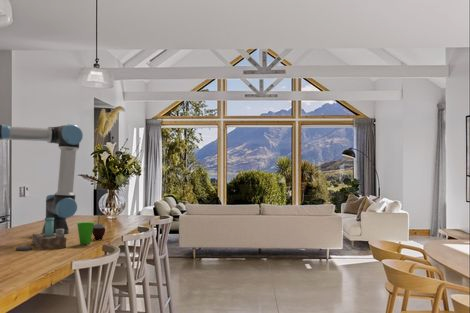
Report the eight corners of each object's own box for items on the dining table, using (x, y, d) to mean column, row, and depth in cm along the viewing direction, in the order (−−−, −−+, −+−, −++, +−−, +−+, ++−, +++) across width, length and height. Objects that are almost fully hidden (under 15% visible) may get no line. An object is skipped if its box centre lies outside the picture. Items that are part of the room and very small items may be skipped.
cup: (97, 243, 286) (98, 222, 286) (87, 245, 277) (88, 224, 277) (83, 242, 289) (83, 221, 289) (72, 244, 280) (73, 223, 280)
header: (56, 242, 287) (56, 225, 287) (65, 247, 270) (66, 229, 270) (32, 243, 280) (32, 226, 281) (40, 249, 263) (41, 230, 264)
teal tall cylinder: (52, 244, 278) (53, 217, 278) (54, 246, 274) (55, 218, 275) (43, 245, 276) (43, 217, 276) (45, 246, 272) (45, 218, 272)
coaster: (30, 248, 266) (30, 246, 266) (33, 250, 260) (33, 248, 260) (14, 249, 262) (14, 247, 262) (17, 251, 256) (17, 249, 256)
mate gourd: (98, 238, 307) (99, 211, 307) (108, 239, 303) (109, 212, 303) (88, 239, 301) (89, 212, 301) (99, 240, 297) (99, 213, 297)
